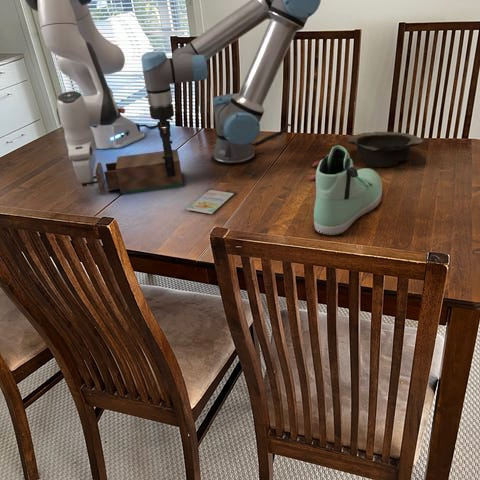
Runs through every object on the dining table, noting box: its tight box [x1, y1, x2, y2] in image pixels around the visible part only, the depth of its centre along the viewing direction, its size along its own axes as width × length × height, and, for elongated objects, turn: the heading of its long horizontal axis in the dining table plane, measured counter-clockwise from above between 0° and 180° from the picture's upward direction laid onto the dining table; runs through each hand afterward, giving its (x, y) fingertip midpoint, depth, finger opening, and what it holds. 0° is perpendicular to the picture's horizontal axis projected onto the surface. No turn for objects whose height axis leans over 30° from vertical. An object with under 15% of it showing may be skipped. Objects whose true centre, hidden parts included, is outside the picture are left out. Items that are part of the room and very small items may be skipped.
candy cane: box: [309, 160, 321, 182], centre depth 162 cm, size 6×15×2 cm, turn 145°
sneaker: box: [313, 145, 383, 236], centre depth 133 cm, size 14×35×20 cm, turn 152°
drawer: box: [81, 161, 120, 194], centre depth 160 cm, size 24×10×7 cm, turn 100°
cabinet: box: [116, 148, 184, 195], centre depth 162 cm, size 20×11×9 cm, turn 100°
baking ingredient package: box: [186, 189, 235, 215], centre depth 148 cm, size 9×1×15 cm
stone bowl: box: [347, 131, 425, 168], centre depth 166 cm, size 25×25×9 cm
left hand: (91, 184), depth 160 cm, fingers closed, pressing on drawer
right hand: (170, 169), depth 162 cm, fingers closed on cabinet, 11 cm apart
